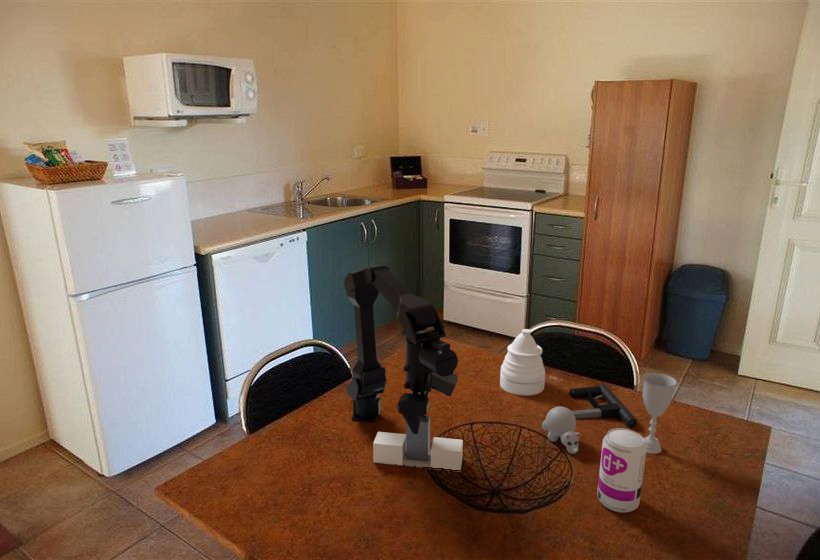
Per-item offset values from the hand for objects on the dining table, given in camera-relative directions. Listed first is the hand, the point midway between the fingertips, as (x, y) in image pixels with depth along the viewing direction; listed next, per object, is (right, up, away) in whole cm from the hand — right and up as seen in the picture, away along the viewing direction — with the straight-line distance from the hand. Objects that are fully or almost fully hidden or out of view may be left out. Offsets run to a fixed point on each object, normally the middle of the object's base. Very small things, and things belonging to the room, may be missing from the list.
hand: (418, 422), depth 129 cm
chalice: (+56, -8, +8) cm, 57 cm away
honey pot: (+31, +1, +40) cm, 50 cm away
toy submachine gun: (+48, -3, +26) cm, 55 cm away
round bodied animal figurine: (+35, -8, +10) cm, 37 cm away
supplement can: (+41, -14, -11) cm, 45 cm away
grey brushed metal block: (0, -8, +3) cm, 9 cm away
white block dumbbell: (0, -9, +3) cm, 10 cm away
